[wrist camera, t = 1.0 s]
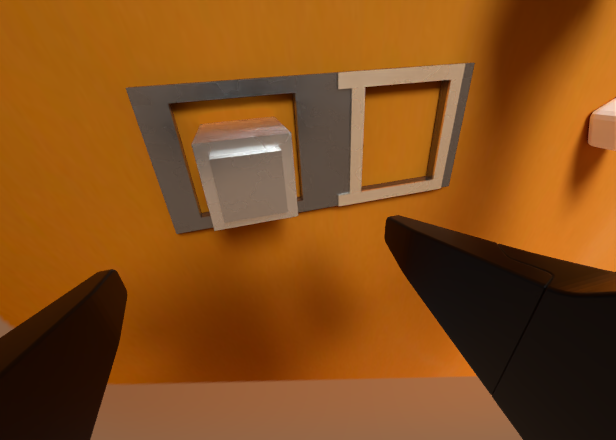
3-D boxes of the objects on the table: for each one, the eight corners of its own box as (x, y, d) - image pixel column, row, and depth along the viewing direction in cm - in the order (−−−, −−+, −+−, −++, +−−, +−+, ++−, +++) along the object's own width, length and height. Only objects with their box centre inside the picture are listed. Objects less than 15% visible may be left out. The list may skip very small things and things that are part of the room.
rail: (466, 63, 21) (476, 62, 20) (442, 183, 26) (450, 186, 25) (129, 87, 16) (124, 88, 16) (178, 228, 21) (176, 235, 20)
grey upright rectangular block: (273, 116, 19) (293, 135, 14) (281, 182, 22) (300, 220, 16) (200, 124, 18) (190, 147, 13) (217, 191, 21) (214, 236, 15)
